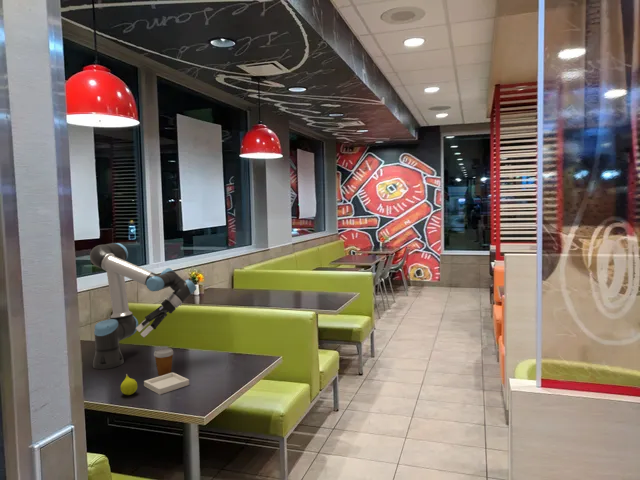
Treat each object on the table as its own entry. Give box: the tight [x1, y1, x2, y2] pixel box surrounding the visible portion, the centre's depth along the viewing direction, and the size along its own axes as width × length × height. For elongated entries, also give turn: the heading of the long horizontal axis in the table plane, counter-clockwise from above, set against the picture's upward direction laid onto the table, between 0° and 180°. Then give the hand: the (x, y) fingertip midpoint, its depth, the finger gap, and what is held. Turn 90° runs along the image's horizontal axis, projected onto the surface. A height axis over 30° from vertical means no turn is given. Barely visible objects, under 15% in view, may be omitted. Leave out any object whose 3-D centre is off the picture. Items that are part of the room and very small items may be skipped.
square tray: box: [143, 371, 190, 396], centre depth 219 cm, size 15×15×2 cm
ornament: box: [120, 373, 138, 396], centre depth 209 cm, size 7×7×10 cm
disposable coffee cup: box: [153, 347, 174, 377], centre depth 234 cm, size 10×10×12 cm
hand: (139, 333), depth 238 cm, fingers open, 13 cm apart
